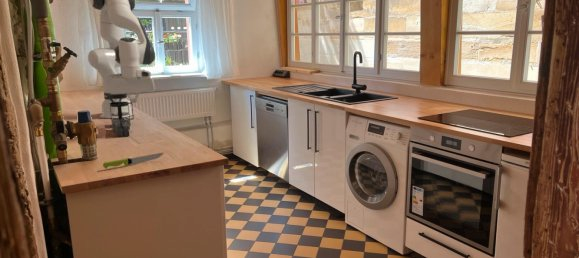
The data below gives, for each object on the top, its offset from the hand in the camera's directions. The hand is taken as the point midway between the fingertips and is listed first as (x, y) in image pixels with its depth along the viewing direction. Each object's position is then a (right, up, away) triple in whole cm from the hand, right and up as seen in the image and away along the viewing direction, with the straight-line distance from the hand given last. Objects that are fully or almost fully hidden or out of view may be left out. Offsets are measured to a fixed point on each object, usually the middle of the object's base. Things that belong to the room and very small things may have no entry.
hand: (133, 102), depth 205 cm
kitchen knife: (+17, -26, -45) cm, 55 cm away
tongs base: (-7, -14, +5) cm, 17 cm away
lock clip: (-15, -16, 0) cm, 22 cm away
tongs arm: (-5, -14, +3) cm, 16 cm away
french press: (-13, -11, +20) cm, 27 cm away
